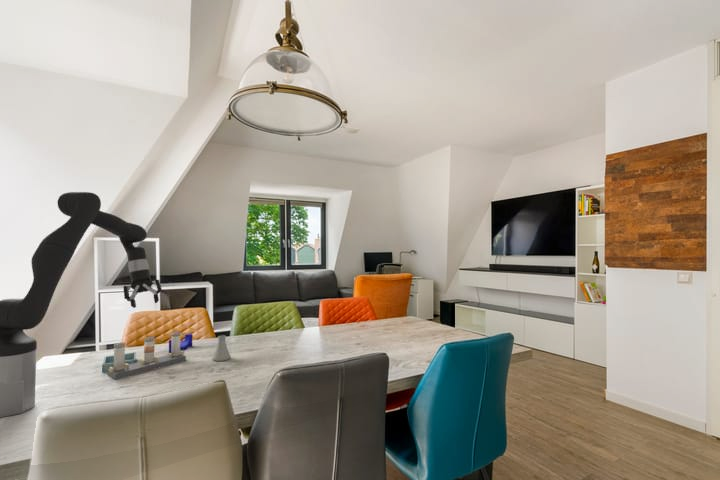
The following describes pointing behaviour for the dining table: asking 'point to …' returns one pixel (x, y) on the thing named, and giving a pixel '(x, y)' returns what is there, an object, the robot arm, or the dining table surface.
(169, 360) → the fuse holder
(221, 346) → the flask
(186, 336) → the blue shoe
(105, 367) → the tray
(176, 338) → the fuse
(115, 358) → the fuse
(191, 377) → the dining table surface
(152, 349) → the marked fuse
